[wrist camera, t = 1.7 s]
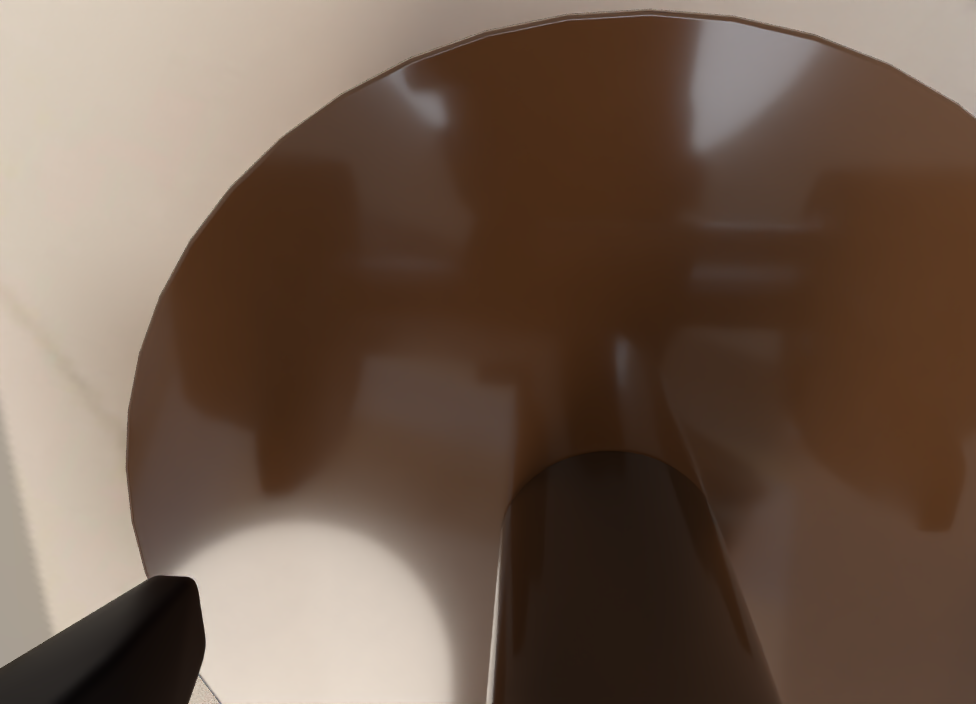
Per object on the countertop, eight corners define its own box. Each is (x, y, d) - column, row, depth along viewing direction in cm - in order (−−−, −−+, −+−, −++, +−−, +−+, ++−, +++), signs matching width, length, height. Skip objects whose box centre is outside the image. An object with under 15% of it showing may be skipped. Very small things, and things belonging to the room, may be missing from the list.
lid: (1262, 523, 10) (1853, 925, 6) (570, 911, 14) (584, 1350, 9) (659, -274, 7) (842, -758, 3) (-4, 468, 11) (-388, 774, 6)
